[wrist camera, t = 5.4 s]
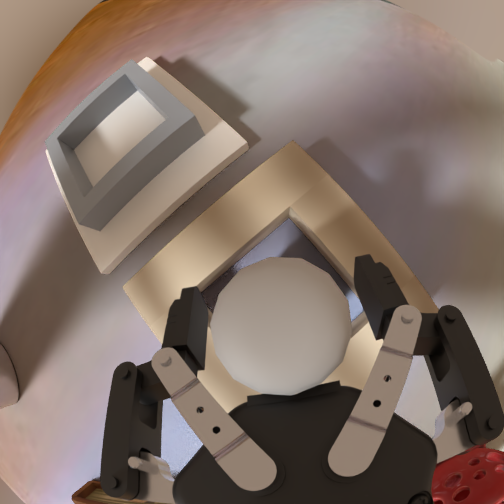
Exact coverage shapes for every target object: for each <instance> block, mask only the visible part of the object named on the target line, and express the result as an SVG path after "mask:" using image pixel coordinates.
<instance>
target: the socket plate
mask: <svg viewBox="0 0 504 504" xmlns="http://www.w3.org/2000/svg"><path fill="white" fill-rule="evenodd" d="M45 144H46V147H47V150H46V151H45V152H46V155H47V157H48V160H49V163H50V166H51V169H52V171H53V174H54V176H55V179H56V182H57V184H58V187H59V189H60V191H61V194H62V196H63V199H64V201H65V203H66V205H67V208H68V210H69V212H70V214H71V216H72V219H73V221H74V223H75V225H76V227H77V229H78V231H79V233H80V235H81V237H82V239H83V241H84V243H85V245H86V247H87V249H88V251H89V253H90V255H91V256H92V258H93V260H94V262H95V264H96V265H97V267H98V269H99V271H100V273H101V274H110V273H111V272H112V271H113V270H114V269H115V268H116V267H117V266H118V265H119V263H120V262H121V261H122V260H123V259H124V258H125V257H126V256H127V255H128V254H129V253H130V252H131V251H133V250H134V249H135V248H136V247H137V246H138V245H139V244H140V243H141V242H142V241H143V240H144V239H145V238H146V237H147V236H148V235H149V234H150V233H151V232H152V231H153V230H154V229H155V228H157V227H158V226H159V225H160V224H161V223H162V222H163V221H164V220H165V219H166V218H167V217H168V216H170V215H171V214H172V213H173V212H174V211H175V210H176V209H177V208H178V207H180V206H181V205H182V204H183V203H184V202H185V201H186V200H188V199H189V198H190V197H191V196H192V195H193V194H194V193H196V192H197V191H198V190H199V189H200V188H202V187H203V186H204V185H205V184H206V183H207V182H209V181H210V180H211V179H212V178H213V177H215V176H216V175H217V174H218V173H220V172H221V171H222V170H223V169H224V168H226V167H227V166H228V165H229V164H231V163H232V162H233V161H234V160H236V159H237V158H238V157H240V156H241V155H242V154H243V153H245V152H246V151H247V150H249V147H248V143H247V141H246V140H245V139H243V138H242V137H241V136H240V135H239V134H238V133H237V132H236V131H235V130H234V129H233V128H232V127H231V126H229V125H228V124H227V123H226V122H225V121H224V120H223V119H222V118H221V117H220V116H218V115H217V114H216V113H215V112H214V111H213V110H212V109H210V108H209V107H208V106H207V105H206V104H205V103H204V102H202V101H201V100H200V99H199V98H198V97H197V96H195V95H194V94H193V93H192V92H191V91H190V90H188V89H187V88H186V87H185V86H184V85H182V84H181V83H180V82H179V81H177V80H176V79H175V78H174V77H173V76H171V75H170V74H169V73H168V72H166V71H165V70H164V69H162V68H161V67H160V66H159V65H157V64H156V63H155V62H153V61H152V60H151V59H150V58H148V57H146V58H144V59H143V60H142V61H140V62H139V63H136V62H134V61H133V60H132V59H131V60H130V61H129V62H127V63H126V64H125V65H124V66H122V67H121V68H120V69H119V70H117V71H116V72H115V73H114V74H112V75H111V76H110V77H109V78H108V79H106V80H105V81H104V82H103V83H102V84H101V85H99V86H98V87H97V88H96V89H95V90H94V91H93V92H92V93H91V94H90V95H88V96H87V97H86V98H85V99H84V100H83V101H82V102H81V103H80V104H79V105H78V106H77V107H76V108H75V109H74V110H73V111H72V112H71V113H70V114H69V115H68V116H67V117H66V118H65V119H64V120H63V122H62V123H61V124H60V125H59V126H58V127H57V128H56V129H55V130H54V131H53V133H52V134H51V135H50V136H49V137H48V138H47V140H46V141H45Z"/></svg>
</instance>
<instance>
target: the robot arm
mask: <svg viewBox="0 0 504 504" xmlns="http://www.w3.org/2000/svg"><path fill="white" fill-rule="evenodd" d="M354 286H355V290H356V292H357V295H358V297H359V299H360V302H361V304H362V307H363V309H364V311H365V314H366V316H367V319H368V321H369V324H370V327H371V329H372V332H373V334H374V337H375V339H376V340H380V339H383V341H384V342H383V344H382V347H381V348H380V351H379V353H378V356H377V358H376V361H375V363H374V365H373V368H372V370H371V372H370V375H369V377H368V379H367V382H366V384H365V386H364V388H363V390H360V389H358V388H355V387H351V386H341V384H340V380H338V381H333V382H329V383H324V384H320V385H317V386H315V387H312V388H310V389H307V390H305V391H302V392H300V393H298V394H295V395H275V394H258V395H250V396H247V402H245V403H242V404H240V405H238V406H237V407H235V408H234V409H232V410H231V411H230V412H229V413H227V412H226V411H225V410H224V409H223V408H222V407H221V406H220V404H219V403H218V402H217V401H216V400H215V399H214V397H213V396H212V395H211V394H210V393H209V392H208V390H207V389H206V388H205V387H204V386H203V384H202V383H201V382H200V381H199V379H198V378H197V373H198V371H201V370H205V358H206V343H207V330H208V309H207V306H206V303H205V301H204V299H203V297H202V295H201V293H200V291H199V289H198V287H197V286H193V287H187V288H183V289H182V291H181V296H180V299H176V300H174V302H173V303H172V305H171V306H170V308H169V313H168V318H167V322H166V323H167V324H166V327H165V332H164V338H163V343H162V348H161V349H160V350H159V351H157V352H156V353H155V355H154V356H153V358H152V360H151V361H149V362H147V363H144V364H141V365H139V366H136V365H135V364H133V363H132V362H124V363H121V364H120V365H119V366H118V367H117V368H116V369H115V371H114V374H113V379H112V384H111V390H110V396H109V402H108V408H107V415H106V422H105V430H104V438H103V448H102V459H101V473H100V484H101V487H102V489H103V491H104V492H105V493H106V494H107V495H108V496H110V497H114V498H119V499H122V500H125V501H131V502H137V503H155V502H160V503H170V504H434V501H433V498H432V491H431V488H432V479H433V475H434V471H435V468H436V464H437V463H439V462H442V461H444V460H446V459H448V458H451V457H453V456H455V455H464V454H466V453H468V452H470V451H472V450H474V449H476V448H478V447H480V446H482V445H484V444H486V443H488V442H489V441H491V440H493V439H495V438H496V437H498V436H499V435H500V434H501V432H502V430H503V428H504V414H503V411H502V408H501V404H500V401H499V398H498V395H497V392H496V390H495V387H494V384H493V381H492V379H491V376H490V374H489V371H488V369H487V366H486V364H485V361H484V359H483V357H482V354H481V352H480V350H479V348H478V345H477V343H476V341H475V339H474V337H473V335H472V333H471V331H470V329H469V327H468V325H467V323H466V321H465V319H464V317H463V315H462V313H461V312H460V310H459V309H458V308H456V307H454V306H451V305H446V306H443V307H441V308H440V309H439V311H438V313H421V312H420V311H419V310H418V309H417V308H415V307H414V306H411V305H409V303H408V302H407V300H406V298H405V296H404V294H403V292H402V291H401V289H400V287H399V285H398V284H397V283H396V280H395V278H394V277H393V275H392V273H391V271H390V270H389V268H388V267H387V266H385V265H384V264H383V263H382V262H378V263H375V262H374V260H373V258H372V256H371V255H370V254H366V255H361V256H357V257H355V263H354ZM412 355H424V358H425V361H426V363H427V366H428V369H429V372H430V375H431V378H432V381H433V384H434V387H435V391H436V394H437V397H438V401H439V404H440V408H441V411H442V412H440V413H439V415H438V416H437V418H436V421H435V435H434V437H433V439H431V437H430V436H428V435H427V434H426V433H424V432H423V431H421V430H420V429H418V428H417V427H415V426H414V425H412V424H411V423H409V422H408V421H406V420H405V419H403V418H402V417H400V416H399V415H397V414H396V413H394V410H395V408H396V405H397V403H398V400H399V398H400V395H401V392H402V390H403V387H404V384H405V381H406V378H407V375H408V372H409V369H410V366H411V363H412V359H413V356H412ZM18 396H19V390H18V383H17V378H16V374H15V371H14V368H13V365H12V363H11V360H10V358H9V356H8V354H7V352H6V351H5V349H4V348H3V346H2V345H1V344H0V409H1V408H4V407H7V406H10V405H13V404H16V402H17V401H18ZM170 397H171V400H172V402H173V403H174V405H175V406H176V408H177V409H178V411H179V412H180V413H181V415H182V416H183V418H184V419H185V420H186V422H187V423H188V425H189V426H190V427H191V429H192V430H193V431H194V433H195V434H196V435H197V436H198V438H199V439H200V440H201V442H202V443H203V445H202V447H201V448H200V449H199V450H198V451H197V453H196V454H195V455H194V456H193V457H192V459H191V460H190V461H189V462H188V463H187V465H186V466H185V467H184V468H183V469H182V470H181V472H180V473H179V474H178V475H177V476H176V478H175V479H174V478H173V477H172V475H171V473H170V468H169V465H168V463H167V462H166V461H165V460H164V459H162V458H161V430H162V408H163V400H165V399H168V398H170Z"/></svg>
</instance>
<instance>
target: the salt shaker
mask: <svg viewBox="0 0 504 504" xmlns="http://www.w3.org/2000/svg"><path fill="white" fill-rule="evenodd" d="M210 328H211V333H212V338H213V343H214V348H215V353H216V355H217V357H218V358H219V360H220V361H221V363H222V364H223V365H224V367H225V368H226V370H227V371H228V372H229V374H230V375H231V376H232V378H233V379H234V380H236V381H238V382H240V383H242V384H244V385H245V386H247V387H249V388H251V389H253V390H255V391H257V392H259V393H263V394H275V395H294V394H297V393H300V392H302V391H305V390H307V389H310V388H312V387H315V386H317V385H319V384H321V383H322V382H323V381H324V380H325V379H326V378H327V377H328V376H329V375H330V374H331V373H332V372H333V371H334V370H335V369H336V368H337V367H338V366H339V365H340V364H341V363H342V362H343V359H344V356H345V353H346V350H347V347H348V344H349V341H350V338H351V334H352V325H351V318H350V310H349V303H348V300H347V298H346V297H345V295H344V294H343V293H342V291H341V290H340V288H339V287H338V286H337V284H336V283H335V281H334V280H333V279H332V277H331V276H330V275H329V273H327V272H325V271H324V270H322V269H320V268H318V267H316V266H315V265H313V264H311V263H309V262H307V261H306V260H304V259H302V258H282V257H269V258H266V259H264V260H261V261H259V262H257V263H254V264H252V265H249V266H247V267H244V268H242V269H240V270H239V271H238V273H237V274H236V275H235V276H234V277H233V278H232V280H231V281H230V282H229V283H228V284H227V285H226V286H225V288H224V289H223V290H222V291H221V292H220V294H219V295H218V299H217V302H216V305H215V309H214V312H213V315H212V319H211V322H210Z"/></svg>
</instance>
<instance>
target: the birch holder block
mask: <svg viewBox="0 0 504 504" xmlns="http://www.w3.org/2000/svg"><path fill="white" fill-rule="evenodd" d="M288 218H290V219H291V220H292V221H293V222H294V224H295V225H296V226H297V227H298V228H299V229H300V230H301V231H302V232H303V234H304V235H305V236H306V237H307V238H308V239H309V240H310V242H311V243H312V244H313V245H314V246H315V247H316V248H317V250H318V251H319V252H320V253H321V254H322V255H323V256H324V258H325V259H326V260H327V261H328V262H329V263H330V265H331V266H332V267H333V268H334V269H335V271H336V272H337V273H338V274H339V275H340V276H341V278H342V279H343V280H344V281H345V282H346V284H347V285H348V286H349V287H350V289H351V290H352V291H353V292H354V293H355V295H356V296H357V297H358V295H357V292H356V290H355V286H354V263H355V257H357V256H361V255H366V254H370V255H371V256H372V258H373V260H374V262H375V263H378V262H382V263H383V264H384V265H385V266H387V267H388V268H389V270H390V271H391V273H392V275H393V277H394V278H395V280H396V283H397V284H398V285H399V287H400V289H401V291H402V292H403V294H404V296H405V298H406V300H407V302H408V303H409V305H411V306H414V307H415V308H417V309H418V310H419V311H420V312H421V313H438V311H439V309H438V308H437V306H436V305H435V303H434V302H433V300H432V299H431V297H430V296H429V294H428V293H427V292H426V290H425V289H424V287H423V286H422V285H421V283H420V282H419V280H418V279H417V278H416V276H415V275H414V274H413V272H412V271H411V270H410V268H409V267H408V266H407V264H406V263H405V262H404V260H403V259H402V258H401V256H400V255H399V254H398V253H397V251H396V250H395V249H394V248H393V246H392V245H391V244H390V243H389V241H388V240H387V239H386V238H385V237H384V235H383V234H382V233H381V232H380V231H379V229H378V228H377V227H376V226H375V225H374V223H373V222H372V221H371V220H370V219H369V218H368V217H367V215H366V214H365V213H364V212H363V211H362V210H361V209H360V207H359V206H358V205H357V204H356V203H355V202H354V201H353V200H352V199H351V198H350V196H349V195H348V194H347V193H346V192H345V191H344V190H343V189H342V188H341V187H340V186H339V185H338V184H337V183H336V182H335V181H334V180H333V179H332V178H331V177H330V175H329V174H328V173H327V172H326V171H325V170H324V169H323V168H322V167H321V166H320V165H319V164H318V163H317V162H315V161H314V160H313V159H312V158H311V157H310V156H309V155H308V154H307V153H306V152H305V151H304V150H303V149H302V148H301V147H300V146H299V145H298V144H297V143H296V142H294V141H293V140H292V141H291V142H290V143H288V144H287V145H286V146H284V147H283V148H282V149H280V150H279V151H278V152H277V153H275V154H274V155H273V156H271V157H270V158H269V159H268V160H266V161H265V162H264V163H262V164H261V165H260V166H259V167H257V168H256V169H255V170H254V171H252V172H251V173H250V174H249V175H247V176H246V177H245V178H244V179H242V180H241V181H240V182H239V183H237V184H236V185H235V186H234V187H233V188H231V189H230V190H229V191H228V192H227V193H225V194H224V195H223V196H222V197H221V198H219V199H218V200H217V201H216V202H215V203H214V204H212V205H211V206H210V207H209V208H208V209H206V210H205V211H204V212H203V213H202V214H201V215H200V216H198V217H197V218H196V219H195V220H194V221H193V222H192V223H190V224H189V225H188V226H187V227H186V228H185V229H184V230H183V231H181V232H180V233H179V234H178V235H177V236H176V237H175V238H174V239H173V240H171V241H170V242H169V243H168V244H167V245H166V246H165V247H164V248H163V249H162V250H161V251H159V252H158V253H157V254H156V255H155V256H154V257H153V258H152V259H151V260H150V261H149V262H148V263H147V264H146V265H145V266H143V267H142V268H141V269H140V270H139V271H138V272H137V273H136V274H135V275H134V276H133V277H132V278H131V279H130V280H129V281H128V282H127V283H126V284H125V285H124V286H123V287H122V288H123V289H124V291H125V292H126V294H127V295H128V297H129V298H130V300H131V301H132V303H133V304H134V306H135V307H136V309H137V310H138V312H139V313H140V315H141V316H142V318H143V319H144V320H145V322H146V323H147V325H148V326H149V327H150V329H151V330H152V332H153V333H154V334H155V336H156V337H157V338H158V340H159V341H160V342H161V344H162V343H163V338H164V332H165V327H166V324H167V323H166V322H167V318H168V313H169V308H170V306H171V305H172V303H173V302H174V300H176V299H180V296H181V291H182V289H183V288H187V287H193V286H197V287H198V289H199V291H200V293H201V292H202V291H203V290H205V289H206V288H207V287H208V286H209V285H210V284H212V283H213V282H214V281H215V280H216V279H217V278H219V277H220V276H221V275H222V274H223V273H224V272H226V271H227V270H228V269H229V268H230V267H232V266H233V265H234V264H235V263H236V262H237V261H239V260H240V259H241V258H242V257H243V256H244V255H246V254H247V253H248V252H249V251H250V250H251V249H253V248H254V247H255V246H256V245H257V244H259V243H260V242H261V241H262V240H263V239H264V238H266V237H267V236H268V235H269V234H270V233H271V232H273V231H274V230H275V229H276V228H277V227H279V226H280V225H281V224H282V223H283V222H284V221H286V220H287V219H288ZM358 298H359V297H358ZM207 309H208V330H207V343H206V358H205V370H201V371H198V373H197V378H198V379H199V381H200V382H201V383H202V384H203V386H204V387H205V388H206V389H207V390H208V392H209V393H210V394H211V395H212V396H213V397H214V399H215V400H216V401H217V402H218V403H219V404H220V406H221V407H222V408H223V409H224V410H225V411H226V412H227V413H229V412H230V411H231V410H232V409H234V408H235V407H237V406H238V405H240V404H242V403H245V402H247V396H250V395H258V394H263V393H259V392H257V391H255V390H253V389H251V388H249V387H247V386H245V385H244V384H242V383H240V382H238V381H236V380H234V379H233V378H232V376H231V375H230V374H229V372H228V371H227V370H226V368H225V367H224V365H223V364H222V363H221V361H220V360H219V358H218V357H217V355H216V353H215V348H214V343H213V338H212V333H211V328H210V322H211V319H212V315H213V313H212V312H211V311H210V310H209V308H208V307H207ZM351 325H352V334H351V338H350V341H349V344H348V347H347V350H346V353H345V356H344V359H343V362H342V363H341V364H340V365H339V366H338V367H337V368H336V369H335V370H334V371H333V372H332V373H331V374H330V375H329V376H328V377H327V378H326V379H325V380H324V381H323V382H322V383H321V384H324V383H329V382H333V381H338V380H340V384H341V386H351V387H355V388H358V389H360V390H363V388H364V386H365V384H366V382H367V379H368V377H369V375H370V372H371V370H372V368H373V365H374V363H375V361H376V358H377V356H378V353H379V351H380V348H381V347H382V344H383V342H384V341H383V339H380V340H376V339H375V337H374V334H373V332H372V329H371V327H370V324H369V321H368V319H367V316H366V314H365V311H363V312H362V313H361V314H360V315H359V316H358V317H357V318H356V319H355V320H353V321H352V322H351ZM319 385H320V384H319ZM297 394H298V393H297ZM294 395H295V394H294Z"/></svg>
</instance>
